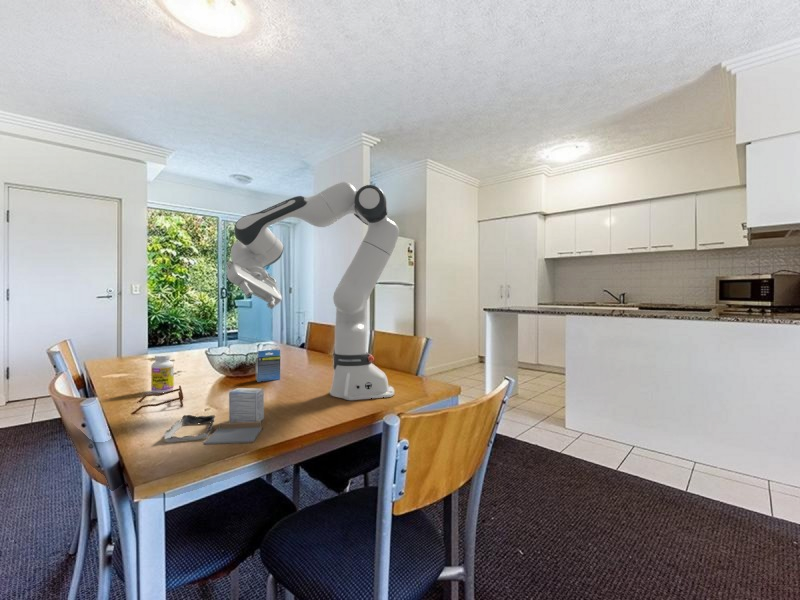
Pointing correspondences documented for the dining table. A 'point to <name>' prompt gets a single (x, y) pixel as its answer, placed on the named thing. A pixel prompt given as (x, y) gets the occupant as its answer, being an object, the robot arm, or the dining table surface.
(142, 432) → the dining table surface
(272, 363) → the label tape box
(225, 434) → the tip mat
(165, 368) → the supplement bottle
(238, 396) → the medicine box
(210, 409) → the dining table surface
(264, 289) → the robot arm
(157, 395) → the glasses
